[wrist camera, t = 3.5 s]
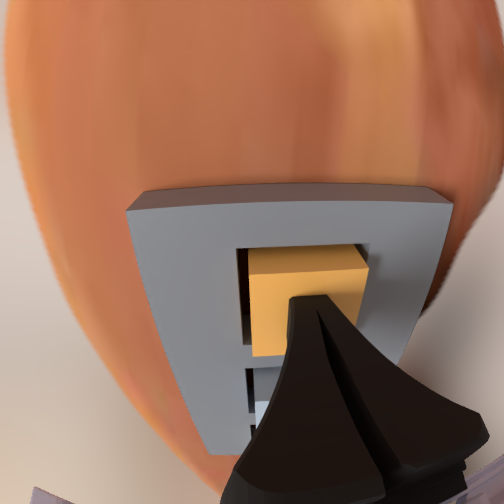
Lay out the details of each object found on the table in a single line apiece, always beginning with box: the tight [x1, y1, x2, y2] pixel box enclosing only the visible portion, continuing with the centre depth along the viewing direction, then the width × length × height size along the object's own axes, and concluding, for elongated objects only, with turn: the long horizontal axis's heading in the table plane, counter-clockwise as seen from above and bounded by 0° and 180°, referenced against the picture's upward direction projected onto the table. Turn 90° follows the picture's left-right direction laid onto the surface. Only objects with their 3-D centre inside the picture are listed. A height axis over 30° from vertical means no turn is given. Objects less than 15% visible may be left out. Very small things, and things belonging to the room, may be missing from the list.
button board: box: [126, 183, 453, 455], centre depth 15 cm, size 21×12×2 cm, turn 2°
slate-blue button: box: [253, 366, 282, 429], centre depth 14 cm, size 4×4×2 cm
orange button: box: [248, 244, 369, 357], centre depth 11 cm, size 4×4×2 cm
